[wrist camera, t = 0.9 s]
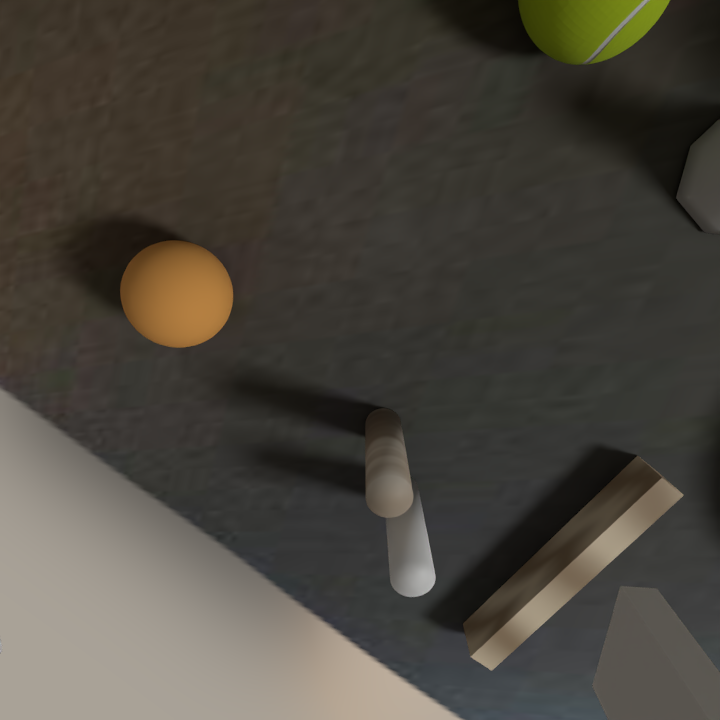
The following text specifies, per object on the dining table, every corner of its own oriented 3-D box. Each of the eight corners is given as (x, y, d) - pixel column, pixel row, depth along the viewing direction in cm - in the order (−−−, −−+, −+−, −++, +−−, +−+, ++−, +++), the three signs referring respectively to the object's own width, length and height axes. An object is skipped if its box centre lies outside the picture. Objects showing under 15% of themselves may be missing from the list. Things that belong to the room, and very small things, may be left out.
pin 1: (359, 415, 34) (358, 485, 26) (393, 403, 34) (403, 469, 25) (373, 445, 35) (376, 523, 26) (406, 433, 35) (420, 508, 26)
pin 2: (378, 480, 36) (383, 567, 27) (411, 469, 35) (426, 553, 27) (391, 508, 36) (399, 602, 28) (422, 497, 36) (441, 588, 27)
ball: (129, 259, 31) (77, 270, 26) (217, 222, 31) (183, 224, 25) (175, 347, 33) (135, 376, 27) (259, 313, 32) (236, 335, 27)
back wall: (482, 636, 39) (491, 670, 36) (462, 623, 39) (470, 656, 36) (657, 471, 35) (683, 495, 32) (637, 455, 35) (662, 477, 32)
